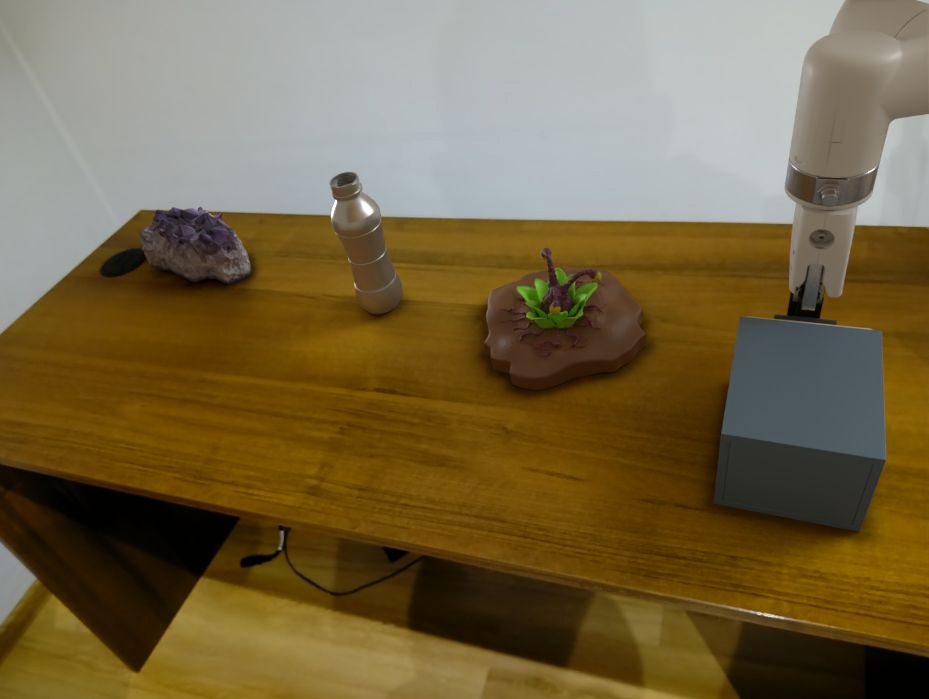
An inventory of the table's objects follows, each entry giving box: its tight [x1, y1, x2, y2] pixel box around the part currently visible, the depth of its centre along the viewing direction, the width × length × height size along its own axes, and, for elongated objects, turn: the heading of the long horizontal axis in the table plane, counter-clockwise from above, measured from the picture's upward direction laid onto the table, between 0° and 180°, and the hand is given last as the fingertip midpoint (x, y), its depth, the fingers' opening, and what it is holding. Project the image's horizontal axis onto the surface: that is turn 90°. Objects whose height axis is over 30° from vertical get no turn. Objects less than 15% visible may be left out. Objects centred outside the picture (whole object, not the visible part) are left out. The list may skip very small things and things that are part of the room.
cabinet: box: [713, 316, 887, 533], centre depth 68 cm, size 16×13×11 cm
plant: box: [483, 247, 647, 391], centre depth 87 cm, size 20×20×11 cm
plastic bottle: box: [328, 171, 404, 315], centre depth 94 cm, size 6×7×20 cm
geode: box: [139, 206, 253, 285], centre depth 114 cm, size 20×12×10 cm, turn 60°
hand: (801, 321), depth 79 cm, fingers closed
